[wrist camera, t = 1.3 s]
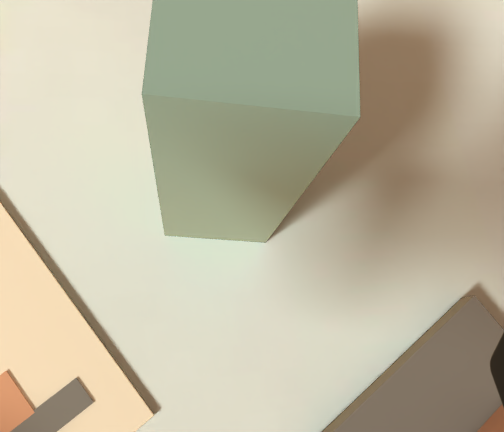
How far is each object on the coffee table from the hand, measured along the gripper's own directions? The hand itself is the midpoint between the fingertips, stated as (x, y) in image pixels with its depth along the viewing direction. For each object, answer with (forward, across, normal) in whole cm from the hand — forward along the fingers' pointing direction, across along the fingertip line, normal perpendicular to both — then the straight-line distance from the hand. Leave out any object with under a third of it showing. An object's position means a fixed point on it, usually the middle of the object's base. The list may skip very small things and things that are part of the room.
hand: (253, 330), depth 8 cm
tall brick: (+14, 0, +4) cm, 15 cm away
